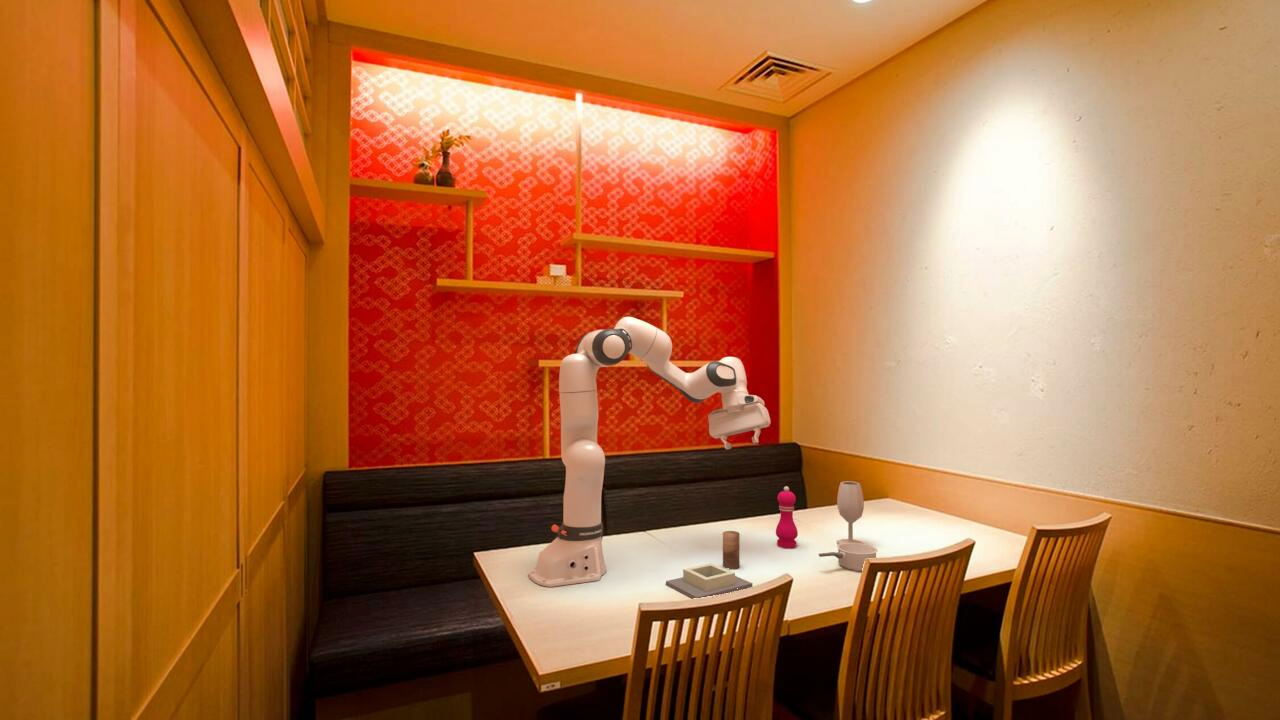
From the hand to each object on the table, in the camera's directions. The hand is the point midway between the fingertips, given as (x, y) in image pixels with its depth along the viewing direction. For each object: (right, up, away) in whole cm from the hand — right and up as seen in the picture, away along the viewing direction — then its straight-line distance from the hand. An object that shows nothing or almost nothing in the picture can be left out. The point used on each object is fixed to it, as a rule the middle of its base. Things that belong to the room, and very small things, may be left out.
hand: (741, 445), depth 188 cm
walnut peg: (-5, -35, -10) cm, 37 cm away
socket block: (-13, -35, -26) cm, 45 cm away
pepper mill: (+17, -36, +12) cm, 41 cm away
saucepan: (+29, -35, -11) cm, 47 cm away
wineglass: (+39, -36, +13) cm, 54 cm away
